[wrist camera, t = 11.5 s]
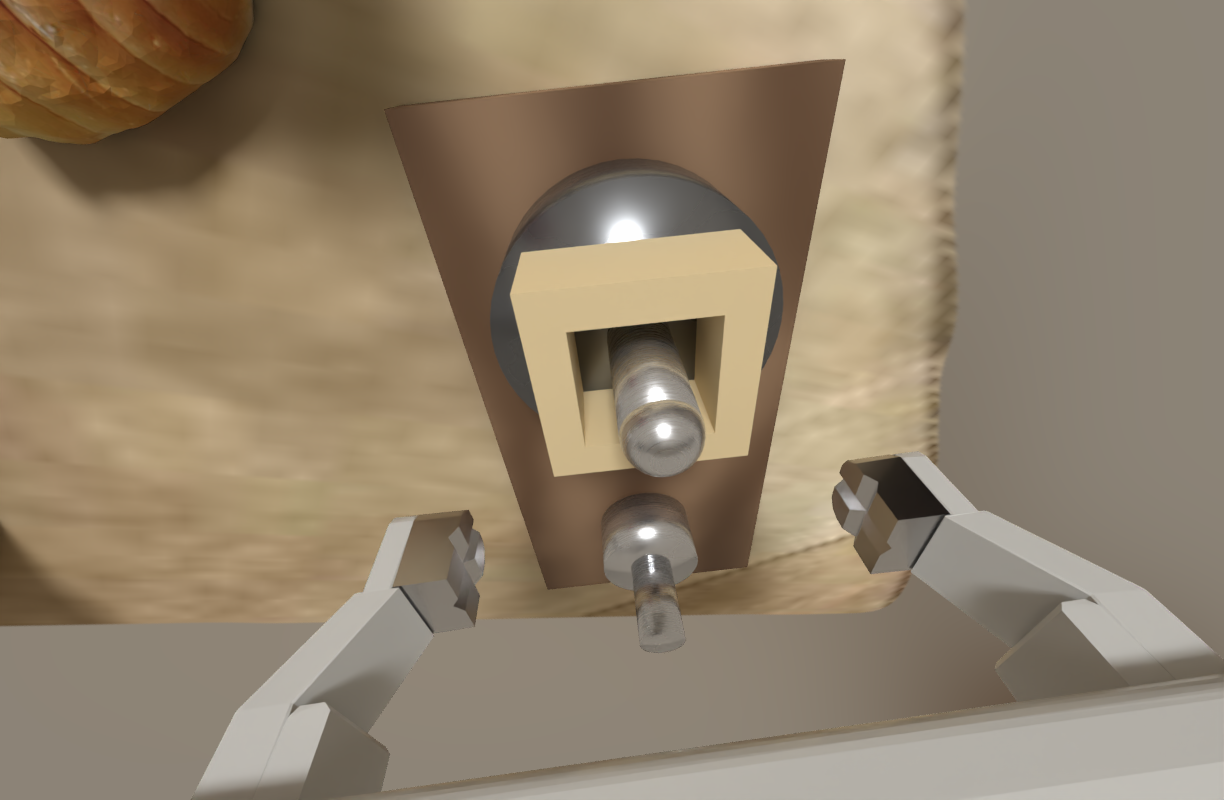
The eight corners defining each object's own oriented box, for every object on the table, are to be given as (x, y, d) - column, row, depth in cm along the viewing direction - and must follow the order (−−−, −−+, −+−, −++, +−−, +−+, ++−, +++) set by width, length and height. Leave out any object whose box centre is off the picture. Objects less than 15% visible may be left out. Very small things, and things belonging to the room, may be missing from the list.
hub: (530, 409, 20) (507, 596, 13) (469, 175, 14) (366, 288, 7) (741, 385, 21) (832, 559, 13) (770, 142, 14) (968, 222, 7)
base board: (548, 569, 31) (547, 589, 30) (399, 105, 14) (384, 109, 13) (740, 547, 32) (747, 566, 30) (822, 59, 14) (845, 59, 13)
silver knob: (605, 550, 28) (613, 670, 22) (596, 498, 25) (603, 623, 19) (685, 541, 28) (713, 659, 22) (687, 488, 25) (720, 610, 19)
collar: (556, 419, 17) (554, 476, 15) (521, 252, 13) (509, 294, 11) (723, 401, 17) (748, 455, 15) (740, 228, 13) (777, 265, 11)
